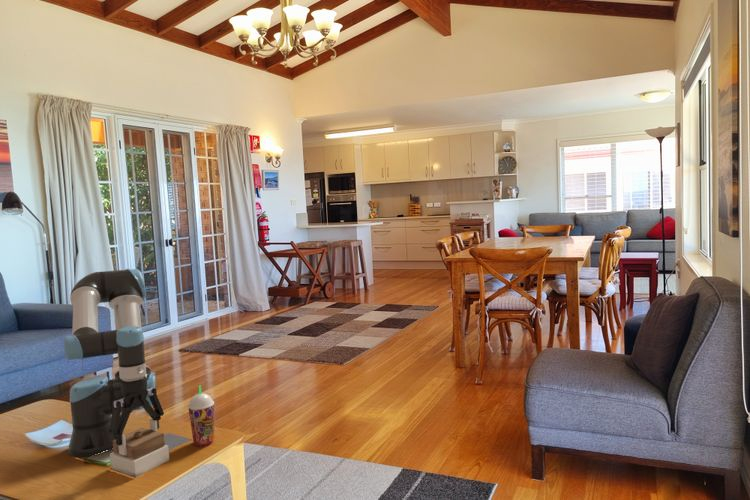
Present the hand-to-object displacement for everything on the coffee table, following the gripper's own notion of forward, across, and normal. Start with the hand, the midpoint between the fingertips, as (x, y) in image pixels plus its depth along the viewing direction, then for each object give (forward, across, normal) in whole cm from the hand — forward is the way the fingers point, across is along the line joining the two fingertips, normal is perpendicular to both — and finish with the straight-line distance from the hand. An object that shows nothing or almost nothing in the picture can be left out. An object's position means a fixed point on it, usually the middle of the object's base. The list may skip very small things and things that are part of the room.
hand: (139, 446), depth 173 cm
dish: (+6, 0, 0) cm, 6 cm away
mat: (+6, +14, +6) cm, 16 cm away
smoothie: (+6, +20, -6) cm, 22 cm away
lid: (+1, 0, 0) cm, 1 cm away
